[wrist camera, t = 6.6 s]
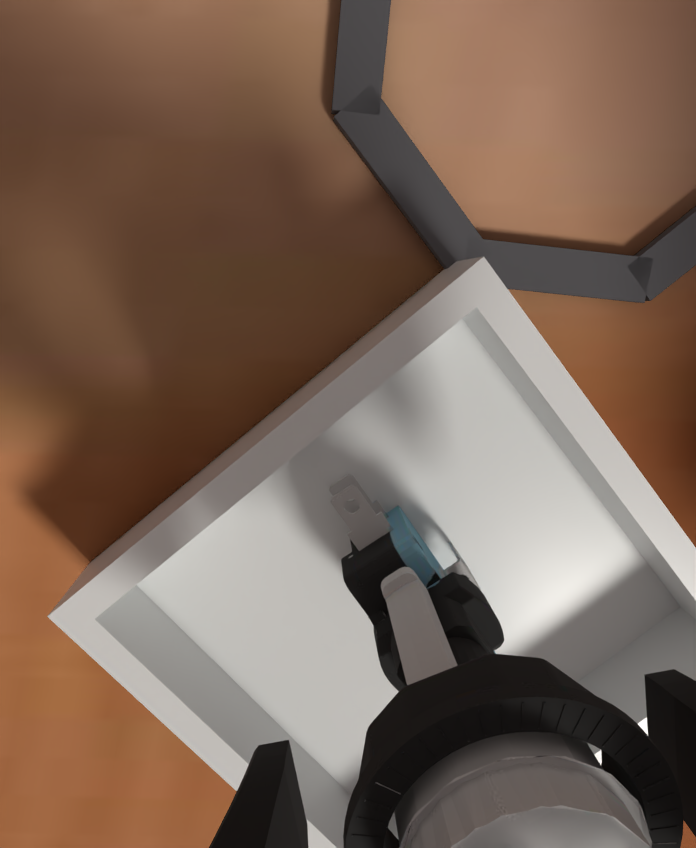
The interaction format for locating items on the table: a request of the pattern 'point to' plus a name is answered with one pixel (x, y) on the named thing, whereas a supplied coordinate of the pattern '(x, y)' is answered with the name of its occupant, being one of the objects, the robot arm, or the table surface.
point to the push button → (483, 719)
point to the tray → (431, 517)
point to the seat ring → (442, 216)
